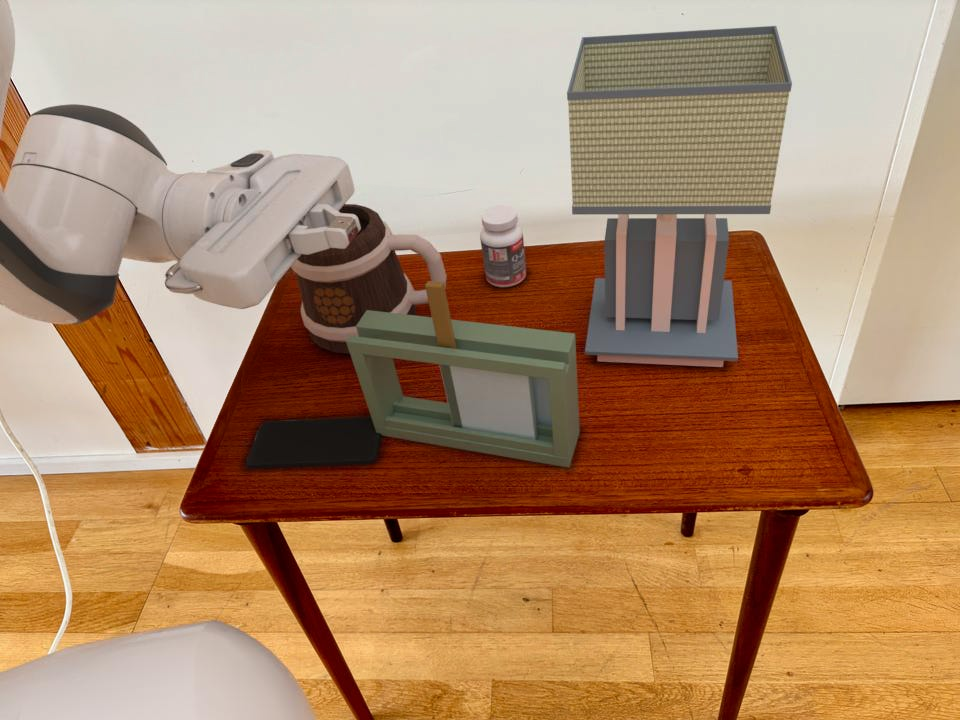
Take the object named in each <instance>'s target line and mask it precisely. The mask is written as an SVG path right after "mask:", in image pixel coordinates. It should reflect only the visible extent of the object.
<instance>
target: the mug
mask: <svg viewBox="0 0 960 720" xmlns="http://www.w3.org/2000/svg"><path fill="white" fill-rule="evenodd" d="M339 212H340V213H346V214H354V215H356V216H357V217H358V219H359V223H360V226H361V229H360V231H359V232H358V233H357V235H356V236H355V237H354V238H353V239H352V241H351V242H350V244H349V245H348V246H347V247H346V248H345V249H340V248H329V249H326V250H323V251H319V252H316V253H312V254H309V255H306V254H301V256H300V257H299V258H298V259H297V260H296V261H295V263H294V264H293V265H292V266H291V267H290V269H291V270H292V271H293V272H294V273H295V275H296V279H297V284H298V288H299V289H298V290H299V292H300V293H299V294H300V297H301V305H300V316H301V319H302V322H303V326H304V327H305V328H306V329H307V331H308V335H309V336H310V339H311V340H312V341H313V343H314V344H316V345H317V346H318V347H319V348H321V349H324V350H326V351H329V352H332V353H335V354H344V355H345V354H347V355H350V352H349V349H348V346H347V343H346V340H347V339H348V337H349V336H357V337H359V335H358V332H357V329H356V325H357V324H358V322H359V321H360V319H361V318H362V316H363V315H364V313H365V312H366V311H367V310H370V311H379V312H388V313H397V314H406V315H415V316H417V310H416V309H417V306H418V305H419V306H420V305H426V304H429V302H428V297H427V293H426V289H421V290H415V288H414V286H413V285H412V283H411V280H410V279H409V277H408V276H407V275H406V274H405V273H404V271H403V268H402V265H401V263H400V261H399V258H398V255H397V253H396V252H397V251H399V252H400V251H411V252H414V253H415V254H418V255H419V256H420V257H421V258H422V259H423V260H424V261H425V262H426V266H427V270H428V273H429V274H428V275H429V277H430V281H434V282H443V283H444V286H445V288H446V287H447V278H448V277H447V273H446V269H445V266H444V262H443V259H442V258H443V257H442V255H441V253H440V252H439V251H438V250H437V249H436V247H435V246H434V245H433V244H432V243H431V242H430V241H429V240H427V239H425V238H423V237H421V235H418V234H401V233H400V234H399V233H398V234H393V233H392V231H391V229H390V227H389V225H388V223H387V222H386V221H385V220H382V218H381V216H380V214H379V213H378V212H377V211H375V210H373V209H371V207H370V208H369V207H367V206H364V205H360V204H355V203H354V204H353V203H345V204H344V205H343V206H342V208H341V209H340V210H339Z"/></svg>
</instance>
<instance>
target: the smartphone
mask: <svg viewBox="0 0 960 720" xmlns="http://www.w3.org/2000/svg"><path fill="white" fill-rule="evenodd" d="M382 439H383V436H382V434H381V433H377V432H376V430H375V427H374V424H373V421H372V418H371V415H370V416H351V417H350V416H349V417H330V418H329V417H328V418H311V419H309V418H307V419H290V420H272V421H271V420H270V421H268V420H267V421H263V422H261V424H260V425H259V427H258V430H257V431H256V435H255V437H254V440H253V443H252V445H251V447H250V450H249V453H248V455H247V458H246V461H245V467H246V468H247V469H248V470H265V469H267V470H268V469H291V468H292V469H293V468H316V467H339V466H340V467H341V466H342V467H343V466H361V465H362V466H363V465H364V466H367V465H373V464H375V463H376V462H377V461H378V459H379V453H380V450H381V449H380V448H381V443H382Z"/></svg>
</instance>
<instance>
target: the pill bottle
mask: <svg viewBox="0 0 960 720" xmlns="http://www.w3.org/2000/svg"><path fill="white" fill-rule="evenodd" d="M480 217H481V225H482V227H483V228H482V229H481V230H480V234H479V238H480V239H479V240H480V246H481V252H482V253H481V254H482V260H483V268H484V274H485V279H486V281H487V282H488V284H490V285H491V286H493V287H498V288H510V287H514V286H517V285H519V284H520V283H521V282H522V281H524V280H525V278H526V276H527V262H526V254H525V253H526V252H525V244H524V243H525V242H524V232H523V229H522V227H521V226H520V224H519V223H518V222H519V217H518V212H517V210H516V208H514V207H513V206H511V205H506V204H499V205H493V206H490V207H489V208H487V209H485V210H484V211H483V212H482V213H481V216H480Z"/></svg>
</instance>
